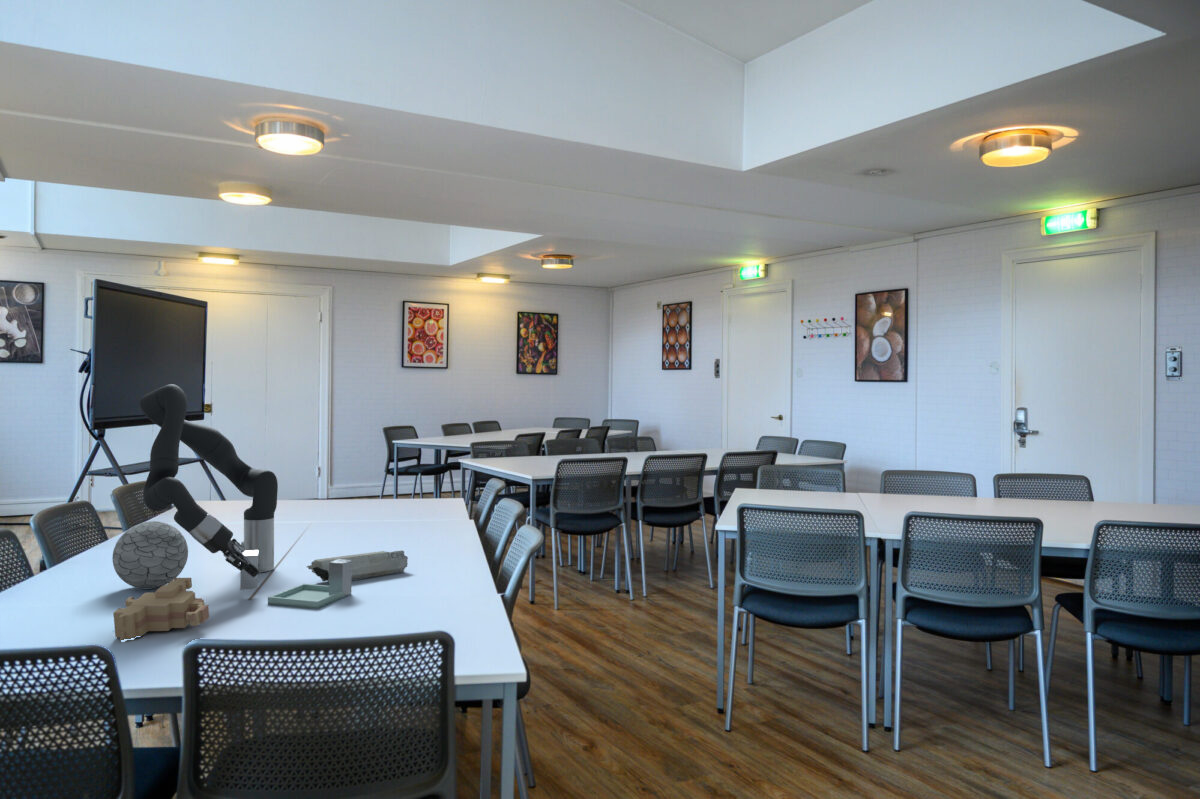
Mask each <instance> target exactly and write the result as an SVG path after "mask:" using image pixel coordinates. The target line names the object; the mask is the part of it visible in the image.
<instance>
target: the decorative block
mask: <svg viewBox="0 0 1200 799" xmlns="http://www.w3.org/2000/svg"><path fill="white" fill-rule="evenodd" d="M337 559H342V560H352V577H351V581H356V580H355V579H357V580H362V579H361V578H364V579H368V578H367V577H370V578H374V577H373V576H376V577H380V576H379V575H382V576H387V575H386V574H389V575H393V574H392V573H395V574H399V573H398V572H401V573H404V572H405V569H406V568H407V567H408V565H409V564H408V561H409V560H408V559H409V558H408V556H407V555H405V551H404V550H395V551H384V550H383V551H382V550H381V551H373V552H372V551H371V552H365V553H364V552H363V553H359V554H357V553H356V554H348V555H340V556H333V557H325V558H318V559H315V560H313V561H311V564H310V565H307V566H306V568H308V570H311V573H313V574H315V576H316V577H319V578H320V579H321V581H322V582H326V581H327V582H329V562H332V561H334V560H337ZM403 571H404V572H403Z"/></svg>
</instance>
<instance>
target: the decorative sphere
mask: <svg viewBox="0 0 1200 799" xmlns="http://www.w3.org/2000/svg"><path fill="white" fill-rule="evenodd" d="M188 557H189V547H188V544H187V540H186V538H185V536H184V535H183V534H182V532H181V531H180V530H179V529H178V528H176V526H175V527H174V526H173V525H171V524H169V523H166V522H163V521H156V520H153V521H151V520H150V521H145V522H141V523H138V524H136V525H133V526H131V527H130V528H128V529H127V530H126V531H124V533H123V534H122V535H121V536H120V537H119V538H118V540H117V541H116V543H115V546H114V548H113V551H112V565H113V569H114V571H115V573H116V575H117V576H118V577H119V578H120V580H122V581H123V582H124V583H126V584H127V585H128V586H130V587H134V588H136V589H141V588H153V589H157V588H156V587H158V588H160V587H161V586H163V585H167V584H168V583H170V582H171V581H172V580H174V578H178V576H179V575H181V573H182V572H183V571H184V568H185V567H186V564H187V563H188Z"/></svg>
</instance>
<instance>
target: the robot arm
mask: <svg viewBox="0 0 1200 799" xmlns="http://www.w3.org/2000/svg"><path fill="white" fill-rule="evenodd" d="M187 398H188V397H187V395H186V393H185V391H184V390H183V389H182V388H181V387H180V386H178V385H177V384H174V383H173V384H172V383H170V384H166V385H163V386H161V387H159V388H156V389H154V390H153V391H150V392H149V393H147V394H144V395H143V396H142V397H141V398H140V400H139V407H140V409H141V411H142V413H143V414H144V415H145V417H146V418H147V419H148V420H150V421H151V422H152V423H154V424H155V425H156V426H158V427H160V430H159V432H158V433H157V436H156V437H155V439H154V442H153V444H152V446H151V449H150V453H149V457H150V458H149V472H148V475H147V477H146V481H145V483H144V487H143V492H142V498H143V502H144V504H145V506H146V507H147V508H148V510H150V511H152V512H162V511H164V510H166V509H167V508H169V507H171V505H174V507H175V508H176V510H177V511H176V512H175V513H174V515H173V520H174V522H176V524H177V525H178V526H180V527H181V528H182V529H183V530H185V531H186V532H187V533H189V535H190V536H191V537H192V538H193V539H194V540H196V541H197V542H198V543H199V544H200V545H202V547H204V548H205V549H206V550H207V551H208V552H210V553H211V554H216V553H218V552H222V554H223V557H225V561H226V562H227V563H228V564H230V565H231V566H233V567H234V568H236V569H237V570H239V571H240V572H241V571H242V570H245V571H246V572H247V573H249V574H250V575H251V576H252V577H255V576H256V575H257V574H258V575H259V574H260V573H265V572H266V573H267V572H271V571H273V570H274V569H275V512H276V510H277V505H278V490H279V488H278V487H279V486H278V484H279V482H278V478H277V476H276V474H275V472H273V471H271V470H268V469H267V470H266V469H256V468H254V467H251V466H250V465H249V464H247V463H246V462H244V461H243V460H242V459H241V458H240V457H239V456H238V454H237V451H236V449H235V446H234V444H233V443H232V442H231V441H230V439H228V438H227V437H226V436H225V435H224V434H222V433H221V432H220V431H219V430H218V429H216V428H214V427H211V426H208V425H206V424H205V425H204V424H201V423H198V422H192V421H189V420H186V419H185V418H186V415H187V414H186V413H187V410H188V399H187ZM180 442H182V443H183V444H184V445H186V446H187V447H188V448H189V449H191V450H192V451H193V452H194V453H195V454H196V455H197V456H199V457H200V458H201V459H203V461H205V462H206V463H207V464H209V465H210V466H212V467H213V468H214V469H215V470H217V471H218V472H219V473H221V475H223V476H224V477H226V478H227V479H228V480H229V482H231V484H233V486H235V488H236V489H237V490H239V491H240V493H242V494H243V495H244V496H247V497H250V498H252V502H251V503H252V504H251V506H250V507H249V508H247V509H244V511H243V541H241V542H238V540H237V539H236V538H233V536H234V533H233V532H232V530H230V529H229V528H228V527H227V526H225V525H224V524H223V523H222V522H221V521H220V520H218V519H217V518H216V517H215V516H213V515H211V514H210V513H208V512H207V511H206V510H205V508H203V507H202V506H200V505H199V504H197V502H196V500H195V499H194V497H193V496H192V494H191V493H190V491H189V490H188V488H187V487H186V486H185V484H184V483H183V482H182V481H181V480H179V479H177V478H175V477H176V476H177V474H178V473H179V465H180V464H179V462H180V461H179V460H180V458H179V457H180V456H179V455H180V454H179V452H180ZM245 550H258V569H256V568H255V567H254V566H253V565H252V564H250V563H249V561H247V560H246V559H245V558H244V557H245V555H244V554H243V553H242V552H241V551H245ZM241 563H243V564H242V565H241Z"/></svg>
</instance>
